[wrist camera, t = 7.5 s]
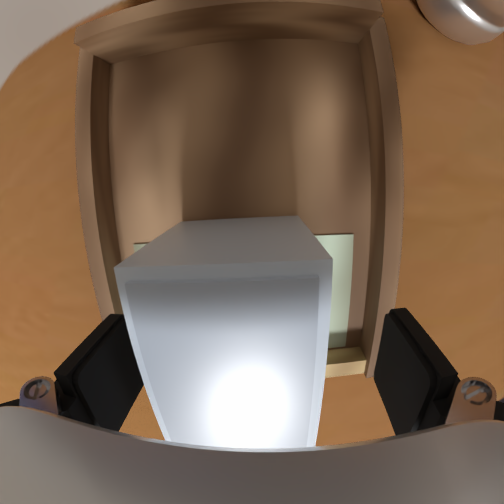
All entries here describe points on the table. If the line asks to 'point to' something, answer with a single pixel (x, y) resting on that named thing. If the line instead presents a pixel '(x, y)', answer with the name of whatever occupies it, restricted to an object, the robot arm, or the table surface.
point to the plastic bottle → (465, 19)
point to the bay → (247, 140)
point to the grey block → (231, 330)
